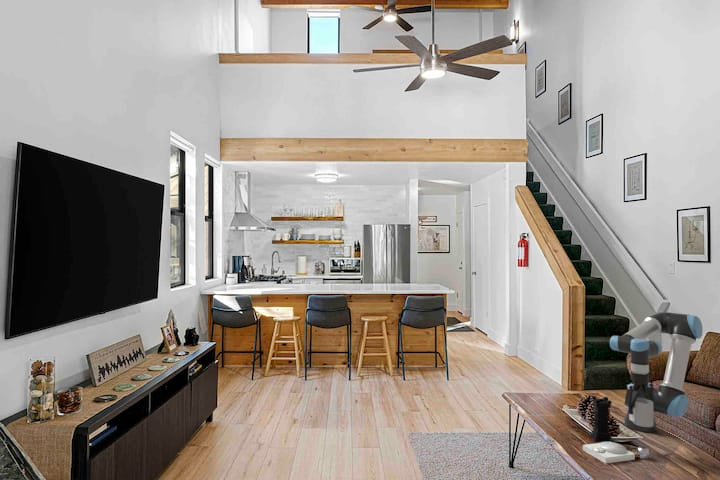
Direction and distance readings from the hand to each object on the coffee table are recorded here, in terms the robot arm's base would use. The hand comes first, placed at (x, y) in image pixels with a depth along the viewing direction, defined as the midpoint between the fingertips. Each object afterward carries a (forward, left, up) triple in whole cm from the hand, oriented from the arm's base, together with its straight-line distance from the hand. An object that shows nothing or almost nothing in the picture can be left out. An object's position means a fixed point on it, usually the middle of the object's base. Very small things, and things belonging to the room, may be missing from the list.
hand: (639, 419), depth 227 cm
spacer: (+6, +8, -14) cm, 17 cm away
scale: (+20, +2, -14) cm, 25 cm away
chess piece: (+9, -14, -14) cm, 22 cm away
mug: (0, 0, -2) cm, 2 cm away
